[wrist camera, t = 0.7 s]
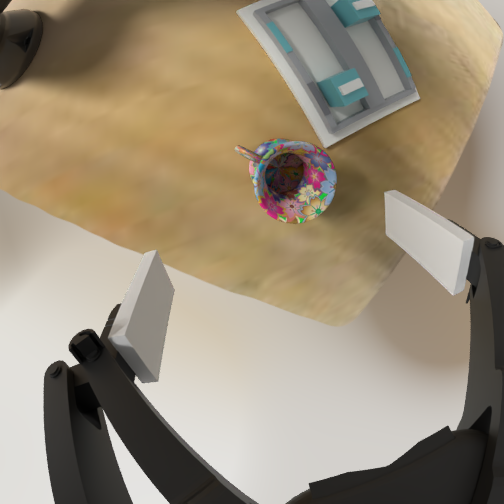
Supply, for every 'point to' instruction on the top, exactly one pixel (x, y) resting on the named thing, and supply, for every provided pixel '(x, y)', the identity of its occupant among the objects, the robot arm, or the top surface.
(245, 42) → the top surface
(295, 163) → the mug
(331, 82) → the tab
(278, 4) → the switch board
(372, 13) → the tab
